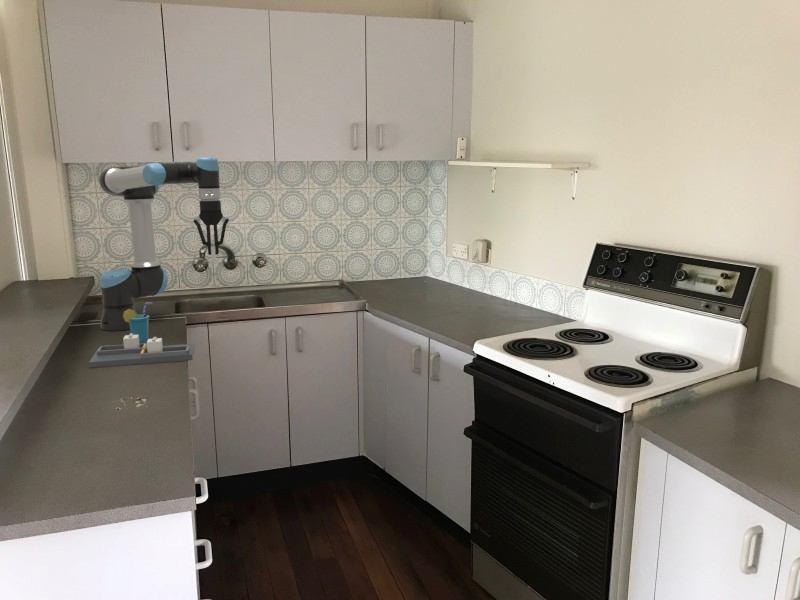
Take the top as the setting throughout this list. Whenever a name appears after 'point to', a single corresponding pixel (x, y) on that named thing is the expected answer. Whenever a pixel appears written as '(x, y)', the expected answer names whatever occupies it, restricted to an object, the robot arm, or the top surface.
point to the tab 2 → (154, 345)
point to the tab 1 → (131, 341)
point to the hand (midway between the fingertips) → (214, 263)
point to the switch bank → (140, 355)
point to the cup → (138, 323)
